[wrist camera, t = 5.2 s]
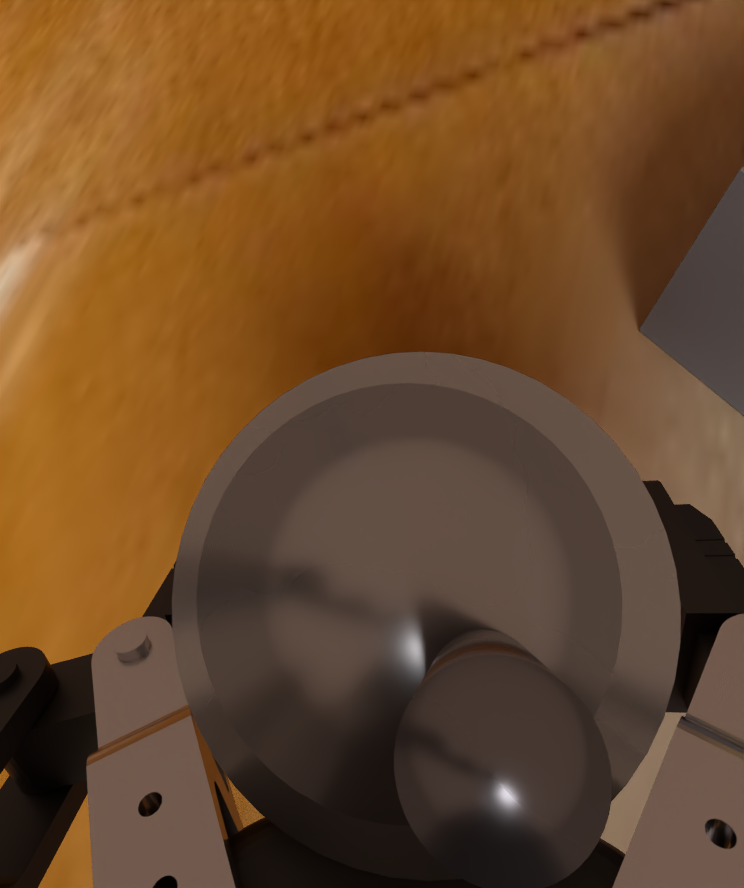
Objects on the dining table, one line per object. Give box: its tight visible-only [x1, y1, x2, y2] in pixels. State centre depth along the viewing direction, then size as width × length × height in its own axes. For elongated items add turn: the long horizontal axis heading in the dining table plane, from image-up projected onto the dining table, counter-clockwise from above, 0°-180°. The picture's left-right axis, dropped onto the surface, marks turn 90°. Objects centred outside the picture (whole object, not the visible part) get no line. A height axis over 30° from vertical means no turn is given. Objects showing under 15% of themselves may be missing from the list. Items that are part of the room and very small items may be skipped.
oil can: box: [172, 352, 681, 888], centre depth 10 cm, size 6×6×14 cm
